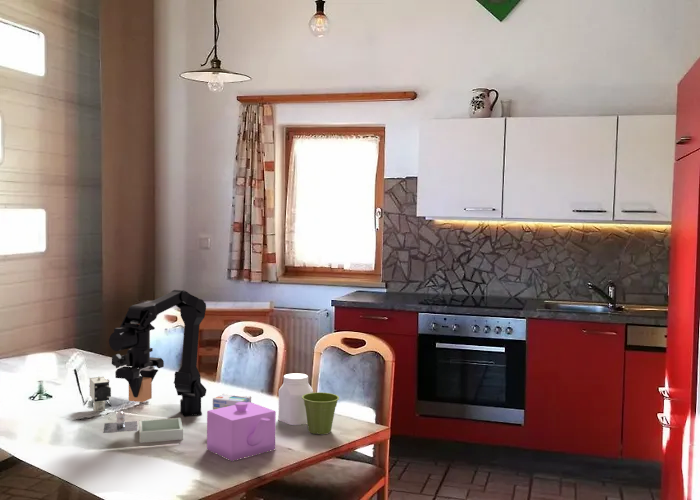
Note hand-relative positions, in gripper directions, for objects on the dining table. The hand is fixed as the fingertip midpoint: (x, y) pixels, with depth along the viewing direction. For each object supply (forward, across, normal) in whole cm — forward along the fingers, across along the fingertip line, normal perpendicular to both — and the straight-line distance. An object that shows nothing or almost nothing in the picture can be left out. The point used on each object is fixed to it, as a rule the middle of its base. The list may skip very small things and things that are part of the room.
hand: (140, 395), depth 223 cm
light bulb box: (+12, -11, +26) cm, 31 cm away
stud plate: (+12, -2, -8) cm, 14 cm away
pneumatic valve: (+12, -16, -26) cm, 33 cm away
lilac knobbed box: (+12, +6, +37) cm, 40 cm away
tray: (+12, +1, +8) cm, 14 cm away
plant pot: (+12, -19, +53) cm, 58 cm away
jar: (+12, -28, +42) cm, 51 cm away
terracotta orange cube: (+1, 0, 0) cm, 1 cm away
